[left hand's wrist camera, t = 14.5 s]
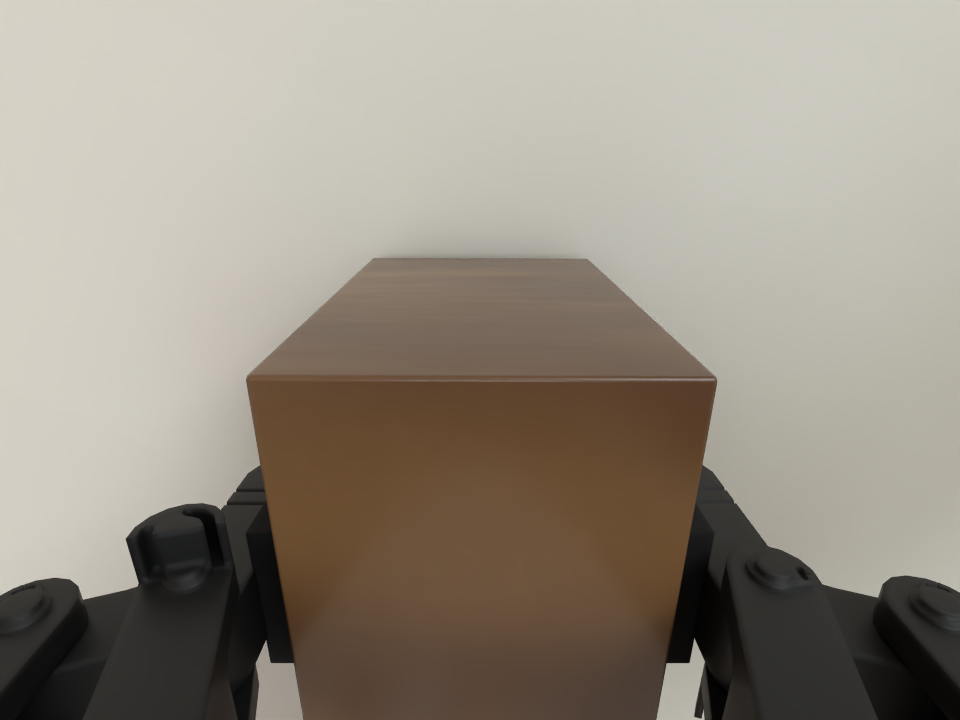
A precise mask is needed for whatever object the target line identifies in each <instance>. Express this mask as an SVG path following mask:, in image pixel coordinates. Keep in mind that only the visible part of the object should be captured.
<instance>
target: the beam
mask: <svg viewBox="0 0 960 720" xmlns="http://www.w3.org/2000/svg"><path fill="white" fill-rule="evenodd" d="M246 382H247V388H248V394H249V400H250V406H251V412H252V417H253V423H254V429H255V435H256V441H257V447H258V453H259V459H260V465H261V471H262V477H263V483H264V488H265V494H266V500H267V506H268V512H269V518H270V524H271V530H272V536H273V542H274V548H275V553H276V559H277V565H278V571H279V577H280V583H281V589H282V595H283V601H284V607H285V613H286V619H287V624H288V630H289V636H290V642H291V648H292V654H293V660H294V666H295V672H296V678H297V684H298V690H299V695H300V701H301V707H302V713H303V719H304V720H656V718H657V713H658V707H659V702H660V696H661V691H662V685H663V680H664V674H665V668H666V663H667V657H668V652H669V646H670V641H671V635H672V630H673V624H674V619H675V613H676V607H677V602H678V596H679V591H680V585H681V580H682V574H683V569H684V563H685V558H686V552H687V547H688V541H689V535H690V530H691V524H692V519H693V513H694V508H695V502H696V497H697V491H698V486H699V480H700V474H701V469H702V463H703V458H704V452H705V447H706V441H707V436H708V430H709V425H710V419H711V413H712V408H713V402H714V397H715V391H716V386H717V379H716V377H715V376H714V375H713V374H712V373H711V372H710V371H709V370H708V369H707V368H705V367H704V366H703V365H702V364H701V363H700V362H699V361H698V360H697V359H696V358H695V357H694V356H692V355H691V354H690V353H689V352H688V351H687V350H686V349H685V348H684V347H683V346H682V345H680V344H679V343H678V342H677V341H676V340H675V339H674V338H673V337H672V336H671V335H670V334H668V333H667V332H666V331H665V330H664V329H663V328H662V327H661V326H660V325H659V324H658V323H656V322H655V321H654V320H653V319H652V318H651V317H650V316H649V315H648V314H647V313H646V312H645V311H643V310H642V309H641V308H640V307H639V306H638V305H637V304H636V303H635V302H634V301H633V300H631V299H630V298H629V297H628V296H627V295H626V294H625V293H624V292H623V291H622V290H621V289H619V288H618V287H617V286H616V285H615V284H614V283H613V282H612V281H611V280H610V279H609V278H607V277H606V276H605V275H604V274H603V273H602V272H601V271H600V270H599V269H598V268H597V267H596V266H594V265H593V264H592V263H591V262H590V261H589V260H588V259H448V258H374V259H372V260H371V261H370V262H369V263H368V264H367V265H366V266H365V267H364V268H363V269H362V270H361V271H359V272H358V273H357V274H356V275H355V276H354V277H353V278H352V279H351V280H350V281H349V282H348V283H347V284H345V285H344V286H343V287H342V288H341V289H340V290H339V291H338V292H337V293H336V294H335V295H334V296H333V297H331V298H330V299H329V300H328V301H327V302H326V303H325V304H324V305H323V306H322V307H321V308H320V309H319V310H317V311H316V312H315V313H314V314H313V315H312V316H311V317H310V318H309V319H308V320H307V321H306V322H305V323H303V324H302V325H301V326H300V327H299V328H298V329H297V330H296V331H295V332H294V333H293V334H292V335H291V336H290V337H288V338H287V339H286V340H285V341H284V342H283V343H282V344H281V345H280V346H279V347H278V348H277V349H276V350H274V351H273V352H272V353H271V354H270V355H269V356H268V357H267V358H266V359H265V360H264V361H263V362H262V363H260V364H259V365H258V366H257V367H256V368H255V369H254V370H253V371H252V372H251V373H250V374H249V375H248V376H247V379H246Z"/></svg>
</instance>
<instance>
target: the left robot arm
mask: <svg viewBox="0 0 960 720" xmlns="http://www.w3.org/2000/svg"><path fill="white" fill-rule="evenodd" d="M126 541H127V545H128V548H129V552H130V555H131V558H132V562H133V565H134V568H135V572H136V575H137V578H138V582H139V584H138V587H135V588H132V589H128V590H125V591H120V592H116V593H112V594H107V595H103V596H98V597H94V598H90V599H85V600H83V599H82V596H81V593H80V590H79V587H78V586H77V585H76V584H75V583H74V582H72V581H71V580H69V579H61V578H50V579H44V580H38V581H34V582H31V583H28V584H25V585H22V586H19V587H17V588H14V589H12V590H10V591H8V592H6V593H4V594H2V595H1V596H0V720H255V718H256V708H257V699H258V689H259V681H258V674H257V669H256V664H255V663H256V661H257V659H258V657H259V654H260V652H261V650H262V648H263V646H264V643H265V641H266V640H267V646H268V651H269V656H270V661H271V663H294V660H293V654H292V648H291V642H290V636H289V630H288V624H287V619H286V613H285V607H284V601H283V595H282V589H281V583H280V577H279V571H278V565H277V559H276V553H275V548H274V542H273V536H272V530H271V524H270V518H269V512H268V506H267V500H266V494H265V488H264V483H263V477H262V471H261V465H260V466H258V467H257V468H256V469H254V470H253V471H251V472H250V473H248V474H247V476H246V477H245V478H244V480H243V481H242V482H241V484H240V485H239V486H238V488H237V489H236V492H234V493H233V495H232V496H231V497H230V499H229V500H228V501H227V505H224V507H223V508H222V509H221V510H220V509H218V508H217V507H216V506H212V505H208V504H203V503H200V504H185V505H181V506H177V507H173V508H169V509H166V510H164V511H162V512H160V513H157V514H155V515H153V516H151V517H149V518H148V519H146V520H145V521H143V522H142V523H140V524H139V525H138V526H136V527H135V528H134V529H133V530H132V532H131V533H130V534H129V535H128V537H127V538H126ZM694 638H695V640H696V642H697V645H698V647H699V649H700V651H701V653H702V656H703V658H704V660H705V664H704V669H703V674H702V678H701V683H700V688H699V693H698V697H697V702H696V708H695V715H694V717H697V718H702V714H703V709H704V716H705V720H960V593H959V592H957V591H956V590H954V589H952V588H950V587H948V586H945V585H943V584H940V583H937V582H935V581H931V580H928V579H925V578H918V577H912V576H899V577H891V578H890V579H889V580H887V581H886V582H885V583H884V584H883V585H882V588H881V591H880V594H879V597H878V598H876V597H872V596H867V595H863V594H859V593H854V592H850V591H845V590H841V589H837V588H833V587H829V586H826V585H823V584H822V583H821V582H820V580H819V579H818V577H817V576H816V574H815V573H814V572H813V570H812V569H810V568H809V567H808V566H807V565H806V564H804V563H803V562H802V561H801V560H799V559H798V558H796V557H794V556H792V555H790V554H788V553H786V552H784V551H782V550H779V549H775V548H772V547H768V546H767V544H766V543H765V542H764V540H763V539H762V538H761V536H760V535H759V534H758V532H757V531H756V530H755V528H754V527H753V526H752V524H751V523H750V521H749V520H748V519H747V517H746V516H745V515H744V513H743V512H742V511H741V509H740V508H739V507H738V505H737V504H734V500H733V499H732V497H731V496H730V495H729V493H728V492H727V491H725V490H724V487H723V485H722V484H721V483H720V481H719V480H718V479H717V477H716V476H715V474H714V473H713V472H712V471H710V470H709V469H707V468H706V467H705V466H703V465H702V469H701V474H700V480H699V486H698V491H697V497H696V502H695V508H694V513H693V519H692V524H691V530H690V535H689V541H688V547H687V552H686V558H685V563H684V569H683V574H682V580H681V585H680V591H679V596H678V602H677V607H676V613H675V619H674V624H673V630H672V635H671V641H670V646H669V652H668V657H667V663H689V662H690V657H691V652H692V647H693V642H694Z"/></svg>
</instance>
